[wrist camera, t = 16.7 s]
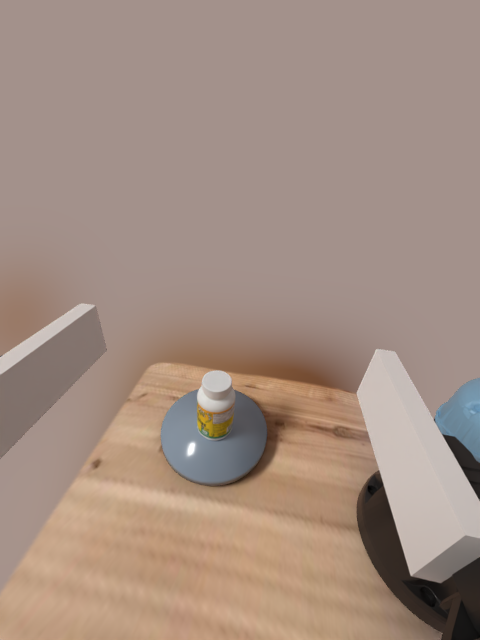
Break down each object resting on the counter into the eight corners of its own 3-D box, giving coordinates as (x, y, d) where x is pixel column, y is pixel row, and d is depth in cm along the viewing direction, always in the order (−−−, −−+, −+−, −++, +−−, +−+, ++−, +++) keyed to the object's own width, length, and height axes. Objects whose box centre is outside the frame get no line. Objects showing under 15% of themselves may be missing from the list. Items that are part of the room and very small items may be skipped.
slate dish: (255, 392, 48) (256, 385, 47) (276, 482, 35) (279, 474, 34) (167, 396, 46) (167, 388, 45) (154, 495, 32) (153, 487, 31)
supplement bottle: (237, 436, 38) (243, 391, 33) (201, 446, 36) (202, 400, 31) (225, 407, 42) (229, 363, 37) (193, 415, 40) (192, 370, 35)
